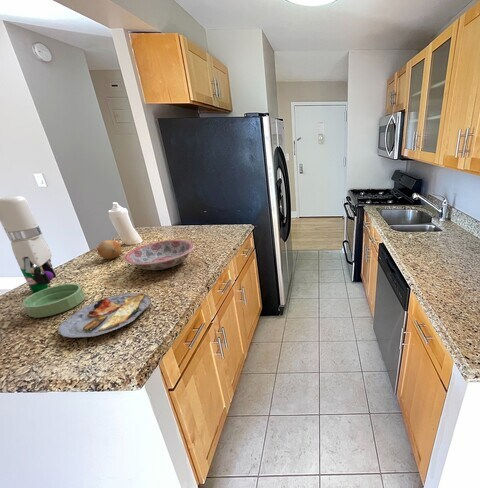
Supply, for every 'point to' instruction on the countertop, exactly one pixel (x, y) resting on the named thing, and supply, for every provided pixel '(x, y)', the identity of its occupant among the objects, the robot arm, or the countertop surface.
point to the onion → (109, 249)
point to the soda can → (33, 281)
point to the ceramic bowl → (160, 254)
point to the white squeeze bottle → (123, 225)
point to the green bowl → (53, 300)
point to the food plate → (104, 315)
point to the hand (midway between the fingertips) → (47, 280)
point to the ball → (49, 275)
